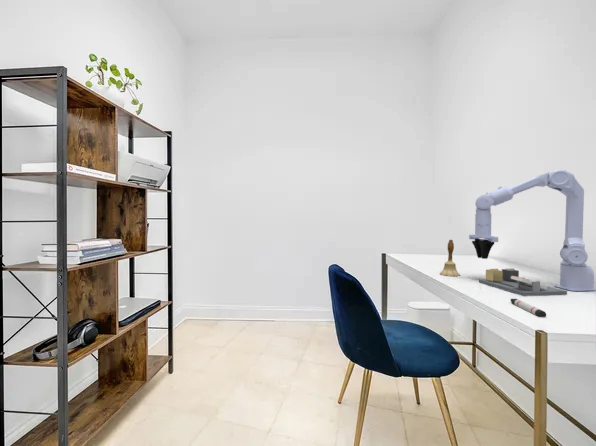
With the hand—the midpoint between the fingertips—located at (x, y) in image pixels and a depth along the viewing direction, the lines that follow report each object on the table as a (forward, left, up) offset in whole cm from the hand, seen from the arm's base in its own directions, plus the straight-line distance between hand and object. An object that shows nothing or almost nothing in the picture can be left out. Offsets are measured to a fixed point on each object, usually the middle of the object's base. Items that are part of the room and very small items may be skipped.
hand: (482, 258), depth 133 cm
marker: (+15, +37, -10) cm, 41 cm away
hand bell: (+5, -14, -10) cm, 18 cm away
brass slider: (0, +7, -8) cm, 10 cm away
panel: (-5, +14, -9) cm, 17 cm away
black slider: (-7, +7, -8) cm, 12 cm away
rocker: (-2, +21, -6) cm, 21 cm away
